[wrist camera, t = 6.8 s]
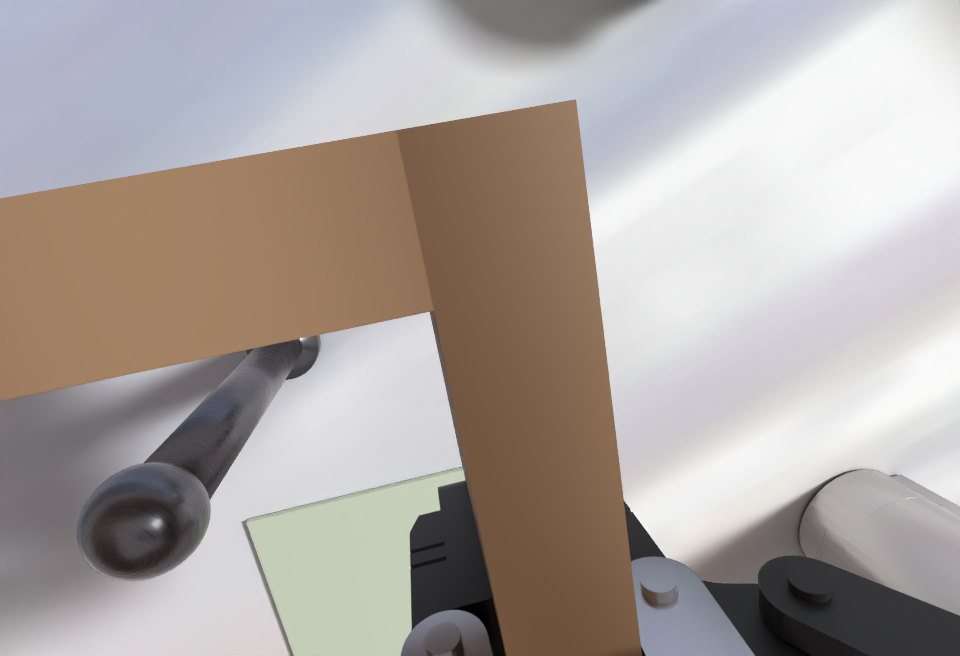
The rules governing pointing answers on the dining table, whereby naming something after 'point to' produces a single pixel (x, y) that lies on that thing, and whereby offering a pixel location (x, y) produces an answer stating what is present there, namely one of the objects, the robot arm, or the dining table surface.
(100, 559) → the metal dumbbell
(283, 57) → the dining table surface
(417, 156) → the walnut frame
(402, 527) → the sage mat
